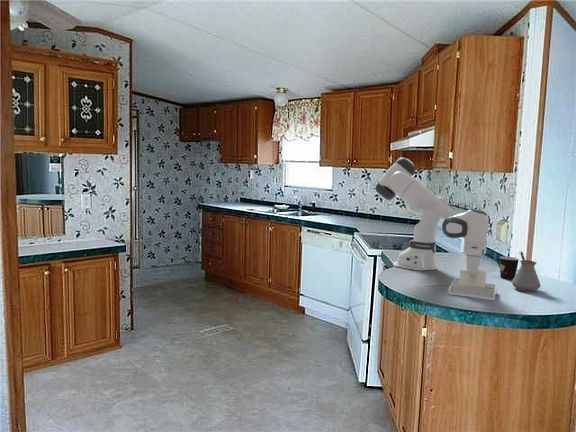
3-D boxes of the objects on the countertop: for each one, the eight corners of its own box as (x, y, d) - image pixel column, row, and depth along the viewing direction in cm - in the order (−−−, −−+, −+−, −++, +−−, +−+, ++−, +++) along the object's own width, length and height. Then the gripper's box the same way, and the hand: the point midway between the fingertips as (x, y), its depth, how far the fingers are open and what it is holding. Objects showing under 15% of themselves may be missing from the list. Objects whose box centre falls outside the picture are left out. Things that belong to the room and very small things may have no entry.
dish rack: (448, 294, 198) (448, 284, 198) (451, 287, 210) (452, 278, 210) (494, 300, 191) (495, 290, 190) (495, 293, 202) (496, 284, 202)
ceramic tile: (459, 288, 199) (460, 269, 198) (459, 286, 201) (461, 268, 200) (484, 291, 194) (486, 272, 194) (484, 290, 197) (486, 271, 196)
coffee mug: (519, 280, 227) (521, 260, 226) (500, 279, 229) (502, 259, 228) (512, 275, 239) (514, 256, 238) (494, 274, 240) (496, 255, 239)
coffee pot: (543, 294, 203) (546, 260, 201) (514, 291, 206) (516, 258, 204) (531, 283, 223) (534, 252, 222) (505, 280, 226) (508, 250, 225)
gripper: (469, 244, 207) (466, 275, 208) (464, 251, 188) (462, 284, 190) (484, 245, 204) (482, 276, 205) (481, 252, 185) (479, 287, 187)
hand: (472, 280), depth 197 cm, fingers closed on ceramic tile, 2 cm apart
